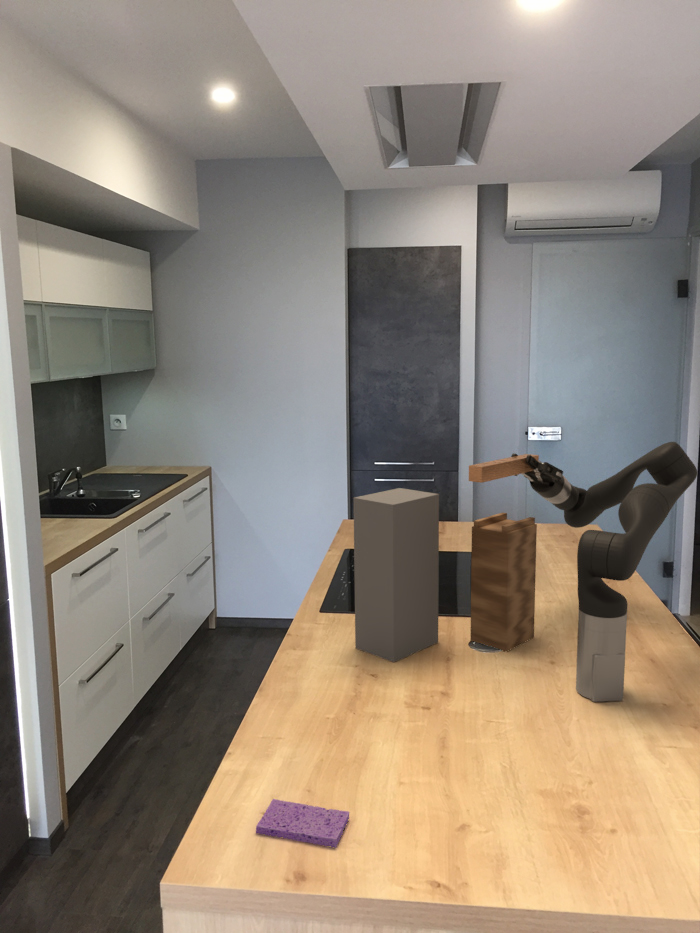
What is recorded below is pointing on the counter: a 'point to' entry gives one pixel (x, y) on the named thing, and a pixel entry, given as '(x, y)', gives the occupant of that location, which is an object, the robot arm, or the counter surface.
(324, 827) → the sponges
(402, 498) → the stand
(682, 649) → the counter surface
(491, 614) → the wood grain block
